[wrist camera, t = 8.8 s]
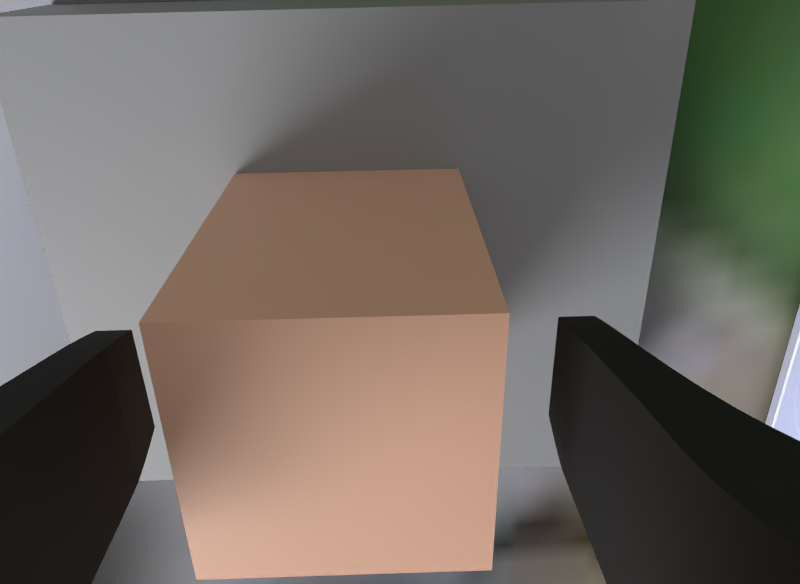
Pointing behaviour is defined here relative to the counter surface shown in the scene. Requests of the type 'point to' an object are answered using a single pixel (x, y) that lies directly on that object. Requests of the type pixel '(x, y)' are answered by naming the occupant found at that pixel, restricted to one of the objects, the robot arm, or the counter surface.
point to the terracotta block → (333, 377)
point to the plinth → (354, 145)
